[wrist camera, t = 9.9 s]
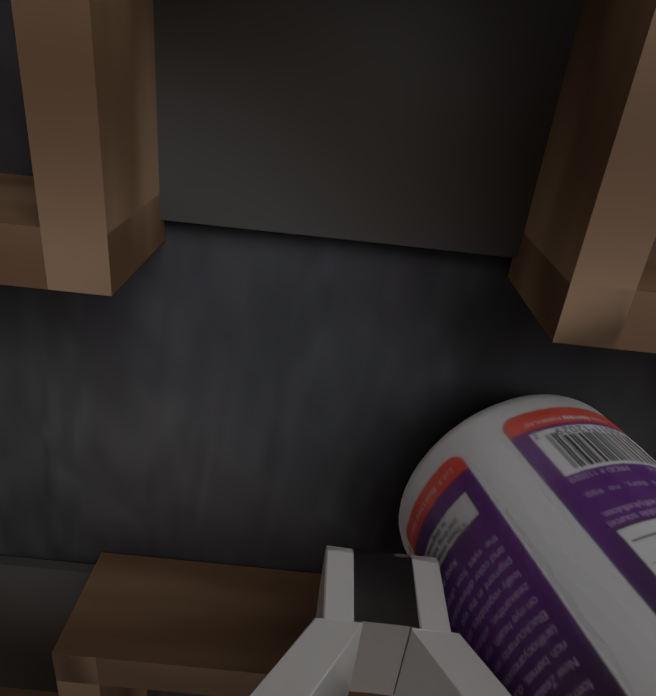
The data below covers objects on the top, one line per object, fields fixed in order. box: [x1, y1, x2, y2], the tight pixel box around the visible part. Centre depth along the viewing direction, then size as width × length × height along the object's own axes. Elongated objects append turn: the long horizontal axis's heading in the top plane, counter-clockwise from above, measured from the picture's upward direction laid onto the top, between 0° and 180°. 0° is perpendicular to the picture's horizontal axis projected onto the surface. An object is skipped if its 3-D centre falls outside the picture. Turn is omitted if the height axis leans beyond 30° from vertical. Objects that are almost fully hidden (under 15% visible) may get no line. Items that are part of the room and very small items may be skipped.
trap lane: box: [0, 0, 656, 696], centre depth 13 cm, size 23×30×3 cm
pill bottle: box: [399, 394, 656, 696], centre depth 9 cm, size 5×5×10 cm
